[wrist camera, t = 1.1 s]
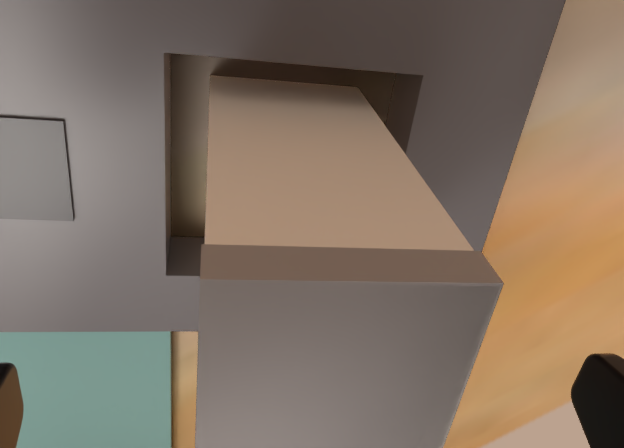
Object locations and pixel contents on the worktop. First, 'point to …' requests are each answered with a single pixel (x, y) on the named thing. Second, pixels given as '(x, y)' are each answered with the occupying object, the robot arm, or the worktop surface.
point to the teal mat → (92, 388)
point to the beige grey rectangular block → (327, 279)
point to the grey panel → (157, 131)
